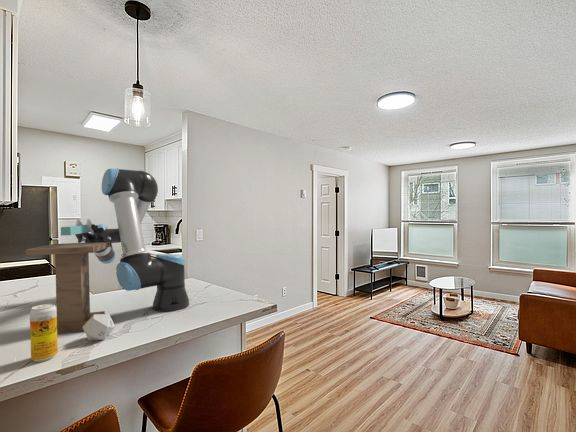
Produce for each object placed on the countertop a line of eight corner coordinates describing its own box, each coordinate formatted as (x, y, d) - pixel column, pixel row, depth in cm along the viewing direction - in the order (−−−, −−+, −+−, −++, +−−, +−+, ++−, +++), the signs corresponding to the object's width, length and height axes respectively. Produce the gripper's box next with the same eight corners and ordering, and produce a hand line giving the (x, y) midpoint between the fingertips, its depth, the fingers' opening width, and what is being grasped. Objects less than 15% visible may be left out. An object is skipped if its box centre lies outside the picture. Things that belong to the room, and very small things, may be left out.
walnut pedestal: (55, 319, 123) (53, 243, 123) (111, 313, 128) (109, 241, 128) (28, 338, 104) (25, 249, 103) (95, 331, 109) (93, 246, 109)
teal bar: (87, 231, 135) (87, 224, 135) (95, 231, 136) (94, 224, 136) (60, 235, 110) (60, 227, 110) (70, 235, 111) (70, 226, 111)
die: (91, 348, 97) (112, 320, 100) (71, 333, 99) (92, 306, 101) (105, 346, 105) (124, 321, 108) (86, 333, 106) (105, 308, 109)
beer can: (33, 365, 85) (31, 311, 85) (29, 358, 89) (27, 306, 89) (60, 357, 90) (58, 305, 90) (55, 351, 94) (53, 302, 94)
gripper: (117, 252, 146) (103, 229, 127) (78, 253, 142) (57, 231, 122) (119, 237, 150) (105, 213, 130) (81, 239, 146) (61, 214, 126)
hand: (82, 222), depth 126 cm, fingers closed on teal bar, 3 cm apart
